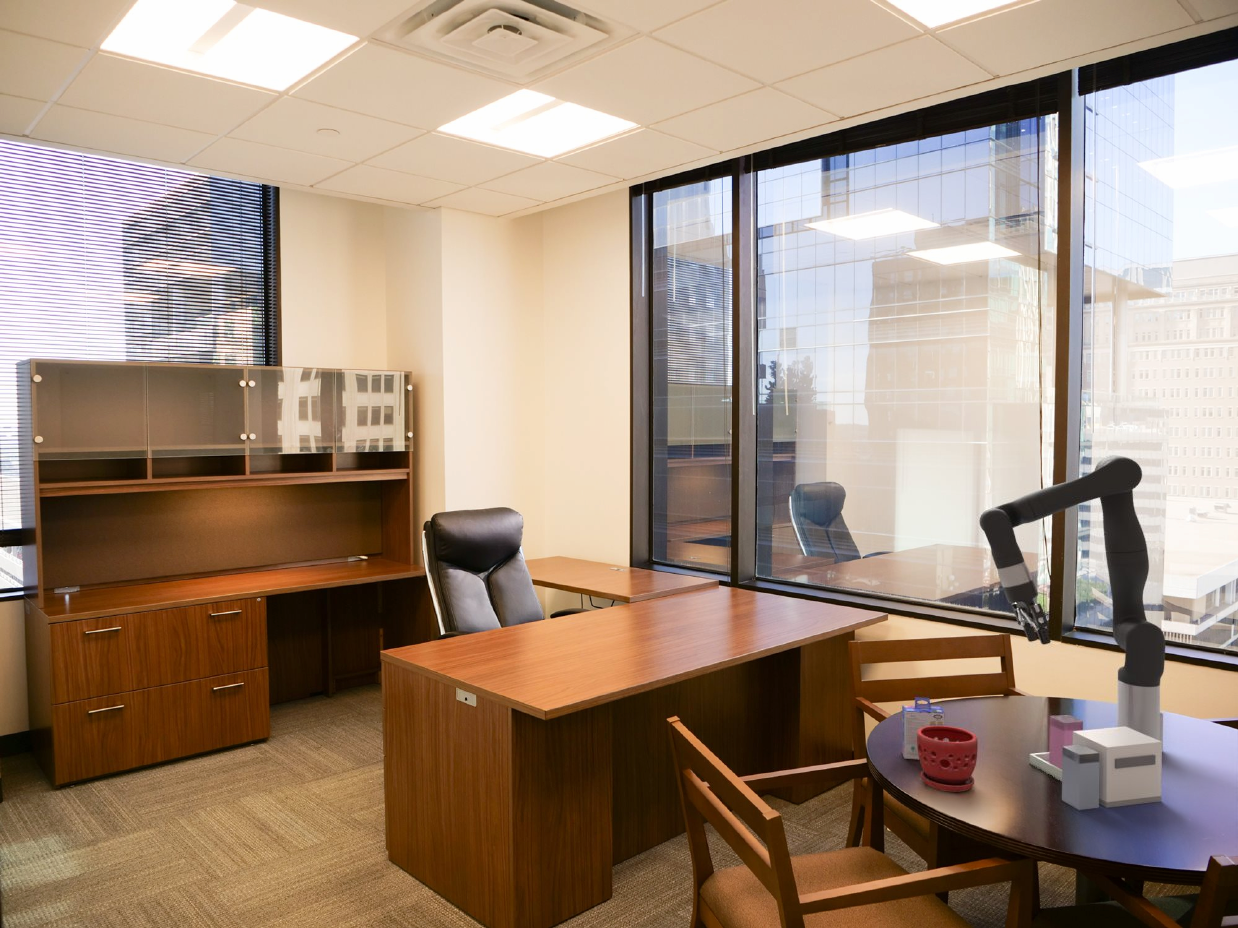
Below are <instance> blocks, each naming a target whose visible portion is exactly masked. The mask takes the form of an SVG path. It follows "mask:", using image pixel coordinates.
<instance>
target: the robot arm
mask: <svg viewBox="0 0 1238 928" xmlns="http://www.w3.org/2000/svg"><path fill="white" fill-rule="evenodd" d="M1142 478H1143V471H1142V468H1141V466H1140V464H1138V462H1136V461H1135V460H1133V459H1132V458H1129V457H1126V456H1121V455H1108V456H1105V457H1103V458H1101V459H1100V460H1099V461H1098V462H1097V464H1096V465H1095V467H1094V470H1093V471H1092V472H1090V473H1088V474H1085V475H1083V476H1081V477H1077V478H1074V479H1072V480H1068V481H1065V482H1062V483H1058V484H1054V485H1051V486H1047V487H1044V488H1041V489H1039V490H1036V491H1033V492H1031V493H1028V494H1025V495H1023V496H1020V497H1019V498H1017V499H1014V500H1013V501H1010V502H1006V503H1003V504H1001V505H997V506H994V507H991V508H989V509H986V510H985V511H983V512H982V514H981V515H980V517H979V526H980V528H981V530H982V531H983V532H984V534H985V537H986V539H987V542H988V543H989V546H990V550H991V551H990V552H991V556H992V559H993V561H994V565H995V567H996V569H997V574H998V578H999V580H1000V584H1001V586H1002V589H1003V592H1004V594H1005V596H1006V601H1007V602H1008V603H1009V604H1011V607H1012V608H1011V609H1012V610H1013V613H1014V616H1015V620H1016V621H1017V624H1018V625H1019V626H1021V628H1022V629H1023V631H1024V633H1025V635H1026V638H1027V641H1028V642H1030V643H1031V642H1036V641H1037V640H1038V639H1039V641H1040V644H1041V645H1044V646H1045V645H1048V644H1051V637H1050V636H1049V633H1048V630H1047V627H1049V626H1050V625H1049V622H1048V619H1047V617H1046V613H1045V612H1044V608H1043V607H1042V604H1041V603H1040V602H1039V603H1035V600H1034V598H1037V597H1038V596H1039V592H1038V589H1037V588H1036V585H1035V582H1034V578H1033V577H1032V574H1031V571H1030V568H1029V567H1028V565H1027V564H1026V561H1025V558H1024V556H1023V553H1022V550H1021V548H1020V546H1019V545H1018V542H1017V538H1016V534H1015V531H1014V528H1016V527H1018V526H1021V525H1024V524H1030V523H1033V522H1036V521H1039V520H1041V519H1044V518H1047V517H1049V516H1052V515H1054V514H1057V513H1060V512H1062V511H1065V510H1067V509H1069V508H1072V507H1074V506H1078V505H1080V504H1083V503H1086V502H1089V501H1092V500H1096V499H1099V500H1100V505H1101V510H1102V523H1103V525H1102V527H1103V537H1104V538H1103V539H1104V540H1103V541H1104V549H1105V558H1106V566H1107V571H1108V579H1109V585H1110V586H1109V587H1110V593H1111V598H1112V599H1111V600H1112V633H1113V636H1112V637H1113V639H1114V641H1115V643H1116V645H1118V647H1119V648H1121V650H1124V651H1125V656H1124V665H1123V666H1121V667H1119V668H1118V670H1117V709H1116V710H1117V711H1116V712H1117V715H1116V716H1117V720H1116V721H1117V722H1116V723H1117V724H1116V725H1117V726H1116V727H1124V726H1126V727H1128V728H1130V729H1133V730H1135V731H1137V732H1140V733H1142V734H1145V735H1147V736H1149V737H1152V738H1154V739H1156V740H1159V741H1161V742H1162V752H1163V749H1164V748H1163V747H1164V744H1163V742H1164V713H1162V712H1161V678H1162V677H1163V674H1164V671H1165V661H1166V639H1165V634H1164V632H1163V631H1162V628H1160V627H1159V626H1158V625H1156V624H1155V623H1153V622H1150V621H1148V620H1147V616H1146V612H1145V605H1144V590H1145V586H1146V583H1147V579H1148V576H1149V571H1150V570H1149V569H1150V561H1149V554H1148V545H1147V541H1146V537H1145V534H1144V530H1143V528H1142V525H1141V523H1140V521H1139V518H1138V516H1137V513H1136V510H1135V505H1134V504H1135V503H1134V493H1133V491H1134V489H1136V488H1137V487H1138V485H1139V484H1140V482H1141V481H1142ZM1036 633H1037V634H1036Z"/></svg>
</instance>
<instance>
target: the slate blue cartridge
mask: <svg viewBox="0 0 1238 928" xmlns="http://www.w3.org/2000/svg"><path fill="white" fill-rule="evenodd" d="M1061 800H1062V801H1063V802H1064V803H1066V804H1068V805H1070V806H1071V807H1073V808H1075V809H1076V810H1078V811H1082V810H1090V809H1099V807H1100V804H1099V752H1097V751H1095V750H1093V749H1090V748H1088V747H1086V746H1084V745H1072V746H1062V782H1061Z"/></svg>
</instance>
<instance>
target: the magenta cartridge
mask: <svg viewBox="0 0 1238 928" xmlns="http://www.w3.org/2000/svg"><path fill="white" fill-rule="evenodd" d="M1083 730H1084V721H1083V720H1081V719H1078V718H1076V717H1074V716H1072V715H1069V714H1061V715H1049V733H1048V734H1049V742H1048V743H1049V746H1048V747H1049V749H1048V750H1049V751H1048V752H1049V763H1050V764H1052V765H1054V766H1056V767H1058V768H1059V769H1061V770H1062V746H1072V745H1073V731H1083Z"/></svg>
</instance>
